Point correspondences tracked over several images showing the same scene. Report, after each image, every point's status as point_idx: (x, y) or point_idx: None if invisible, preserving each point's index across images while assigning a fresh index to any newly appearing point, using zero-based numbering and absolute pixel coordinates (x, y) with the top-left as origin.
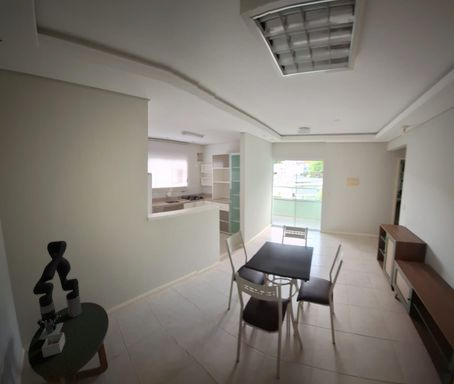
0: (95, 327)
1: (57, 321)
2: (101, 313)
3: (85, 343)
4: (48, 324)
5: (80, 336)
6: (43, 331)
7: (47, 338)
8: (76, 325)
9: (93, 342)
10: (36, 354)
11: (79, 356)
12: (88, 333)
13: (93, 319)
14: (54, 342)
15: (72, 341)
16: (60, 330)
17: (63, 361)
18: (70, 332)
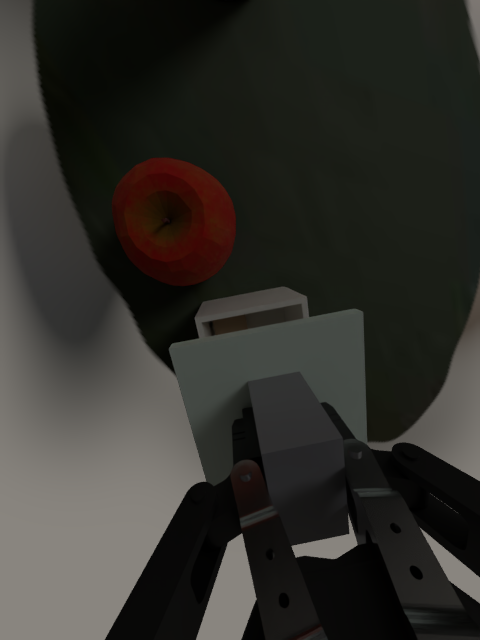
0: (436, 202)
1: (467, 549)
2: (462, 23)
3: (401, 325)
4: (275, 495)
5: (360, 265)
6: (193, 415)
7: (204, 332)
8: (299, 140)
9: (440, 327)
10: (167, 348)
11: (391, 396)
12: (402, 250)
13: (409, 97)
14: (244, 320)
15: (326, 296)
16: (235, 219)
17: None
18: (284, 211)
